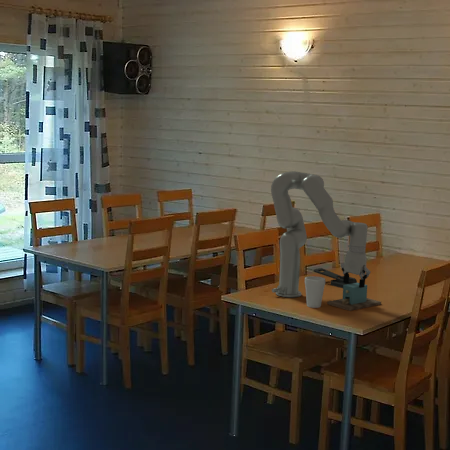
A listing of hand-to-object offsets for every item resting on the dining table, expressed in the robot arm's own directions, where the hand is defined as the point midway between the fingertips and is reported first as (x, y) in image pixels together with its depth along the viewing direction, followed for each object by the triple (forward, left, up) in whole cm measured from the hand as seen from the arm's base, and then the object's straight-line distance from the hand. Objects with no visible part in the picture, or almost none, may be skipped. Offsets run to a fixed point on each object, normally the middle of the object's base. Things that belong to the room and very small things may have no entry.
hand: (353, 284), depth 334 cm
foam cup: (-19, +7, -9) cm, 22 cm away
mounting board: (0, -1, -9) cm, 9 cm away
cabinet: (0, -1, -8) cm, 8 cm away
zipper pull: (+23, +32, -10) cm, 41 cm away
